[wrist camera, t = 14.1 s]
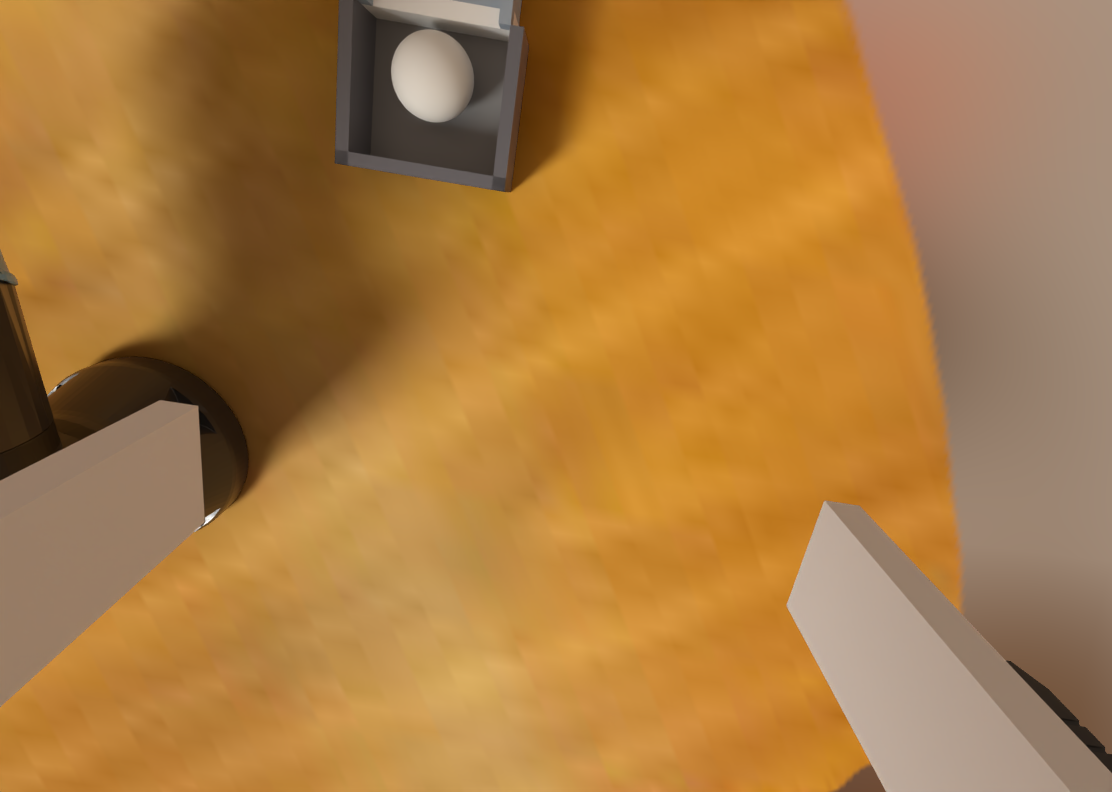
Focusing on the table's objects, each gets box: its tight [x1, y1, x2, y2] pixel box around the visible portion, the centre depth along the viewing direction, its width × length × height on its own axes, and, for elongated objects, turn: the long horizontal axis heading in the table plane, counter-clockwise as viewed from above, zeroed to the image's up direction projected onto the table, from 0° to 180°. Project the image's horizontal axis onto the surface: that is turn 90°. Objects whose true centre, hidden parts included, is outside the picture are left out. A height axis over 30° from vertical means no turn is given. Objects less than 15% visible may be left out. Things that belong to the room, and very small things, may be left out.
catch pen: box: [335, 0, 529, 192], centre depth 36 cm, size 9×11×4 cm
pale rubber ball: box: [391, 29, 474, 122], centre depth 35 cm, size 5×5×5 cm
